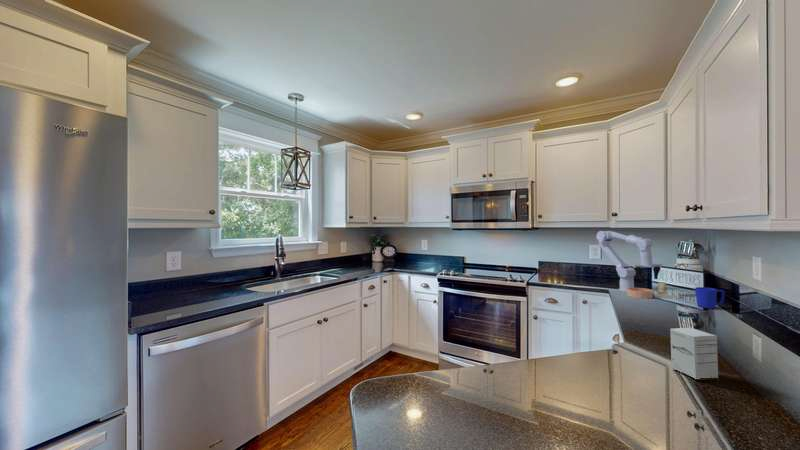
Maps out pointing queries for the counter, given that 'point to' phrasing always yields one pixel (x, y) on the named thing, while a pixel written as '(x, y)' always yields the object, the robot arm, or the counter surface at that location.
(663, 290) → the peg
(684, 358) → the supplement box
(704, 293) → the mug
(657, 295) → the tray
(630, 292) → the orange peg base
